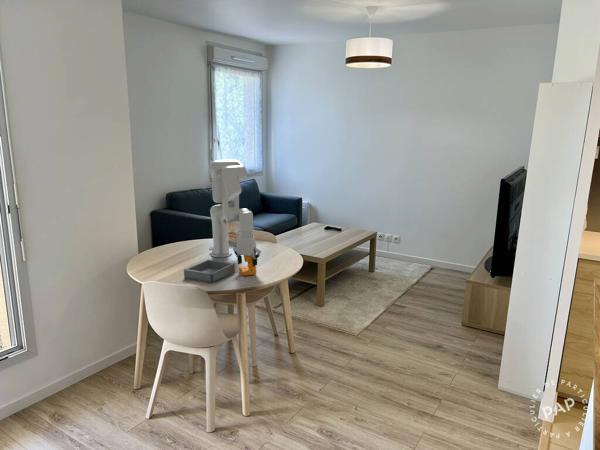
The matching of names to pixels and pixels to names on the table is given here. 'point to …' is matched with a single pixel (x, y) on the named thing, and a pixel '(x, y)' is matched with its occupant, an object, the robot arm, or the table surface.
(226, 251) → the robot arm
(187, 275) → the tray
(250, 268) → the bracket
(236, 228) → the coffeecake box
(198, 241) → the table surface
